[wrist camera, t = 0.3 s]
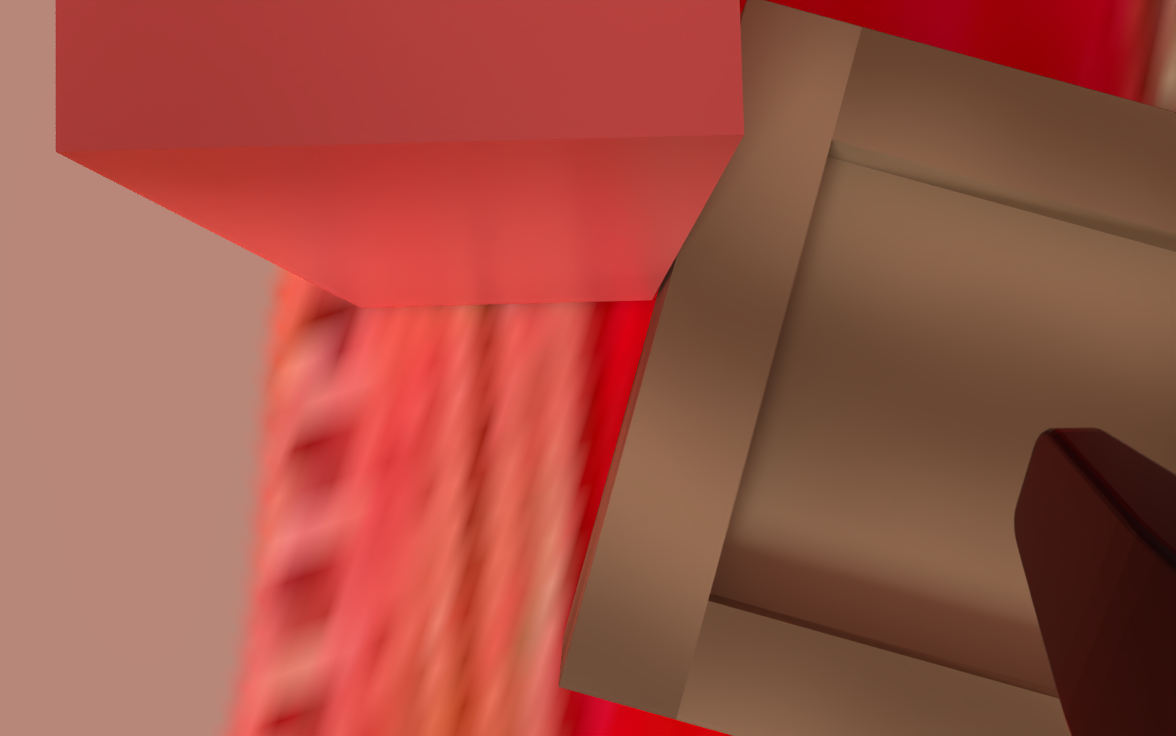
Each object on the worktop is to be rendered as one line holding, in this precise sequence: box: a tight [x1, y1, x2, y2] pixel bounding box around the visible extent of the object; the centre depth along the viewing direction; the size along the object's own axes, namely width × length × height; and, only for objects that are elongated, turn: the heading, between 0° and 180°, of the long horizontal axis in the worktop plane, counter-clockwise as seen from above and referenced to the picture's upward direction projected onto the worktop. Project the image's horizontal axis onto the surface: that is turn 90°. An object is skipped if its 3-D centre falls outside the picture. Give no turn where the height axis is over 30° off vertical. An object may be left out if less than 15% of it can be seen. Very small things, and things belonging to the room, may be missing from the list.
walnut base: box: [559, 0, 1176, 736], centre depth 20 cm, size 12×12×4 cm
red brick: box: [56, 0, 744, 308], centre depth 16 cm, size 6×6×12 cm
